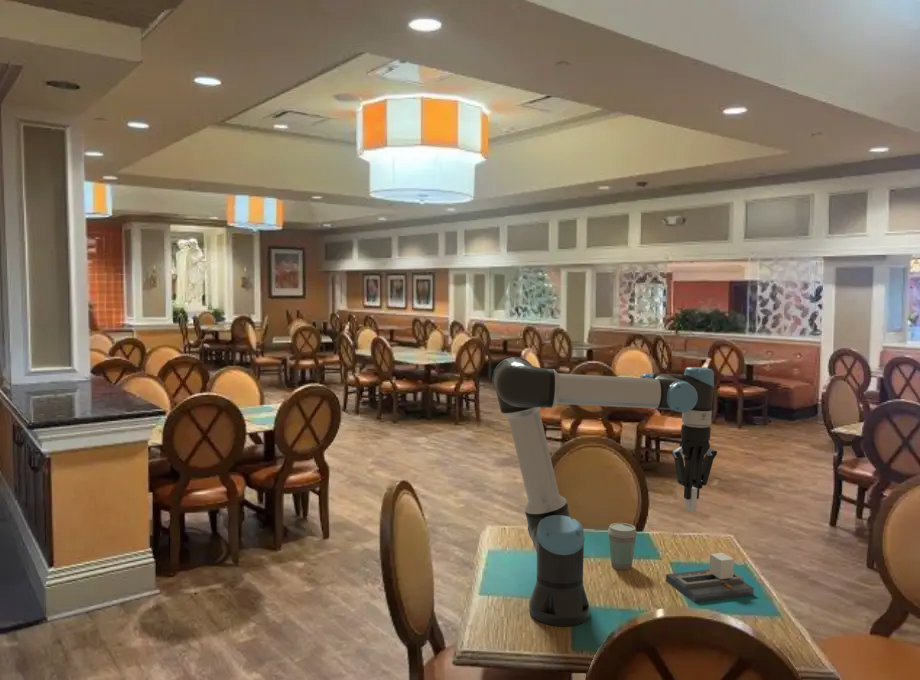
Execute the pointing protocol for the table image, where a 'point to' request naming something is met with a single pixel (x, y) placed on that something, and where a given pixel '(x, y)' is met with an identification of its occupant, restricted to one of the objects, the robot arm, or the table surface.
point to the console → (708, 585)
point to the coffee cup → (622, 545)
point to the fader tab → (721, 566)
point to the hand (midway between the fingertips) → (690, 510)
